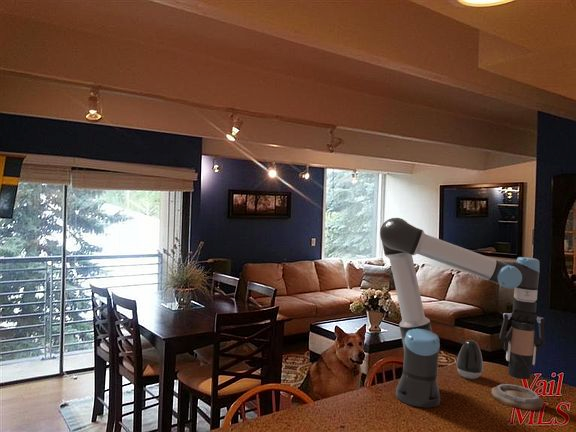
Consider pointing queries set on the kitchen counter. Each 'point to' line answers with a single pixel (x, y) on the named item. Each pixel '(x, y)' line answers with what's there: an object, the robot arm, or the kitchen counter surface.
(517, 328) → the travel mug
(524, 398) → the carrier plate
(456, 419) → the kitchen counter surface
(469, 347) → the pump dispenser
